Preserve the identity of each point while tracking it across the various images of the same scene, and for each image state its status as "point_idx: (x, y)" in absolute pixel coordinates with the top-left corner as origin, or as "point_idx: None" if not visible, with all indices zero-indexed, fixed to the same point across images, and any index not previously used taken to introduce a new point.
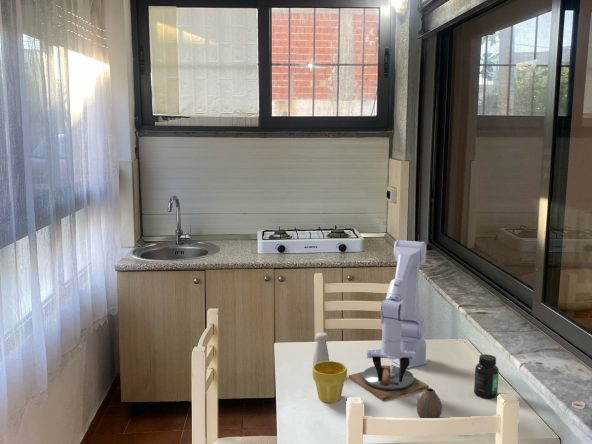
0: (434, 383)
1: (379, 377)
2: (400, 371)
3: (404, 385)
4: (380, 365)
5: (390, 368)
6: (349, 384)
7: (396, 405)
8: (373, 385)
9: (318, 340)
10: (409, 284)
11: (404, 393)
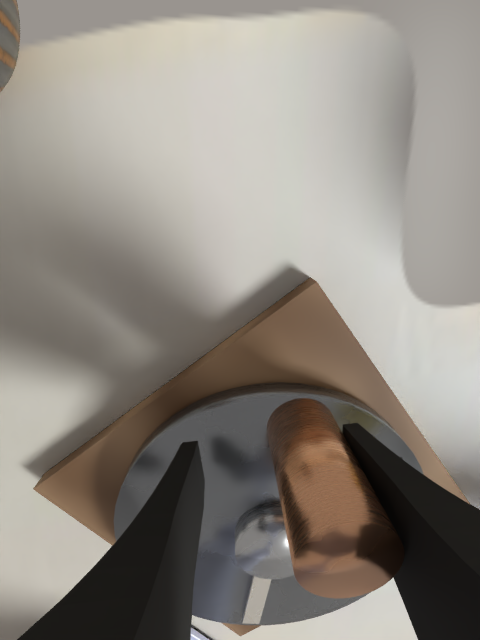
0: (25, 528)
1: (371, 441)
2: (181, 531)
3: (165, 432)
4: (475, 561)
5: (258, 600)
6: (473, 439)
7: (216, 229)
8: (370, 411)
9: None
10: None
11: (170, 384)
